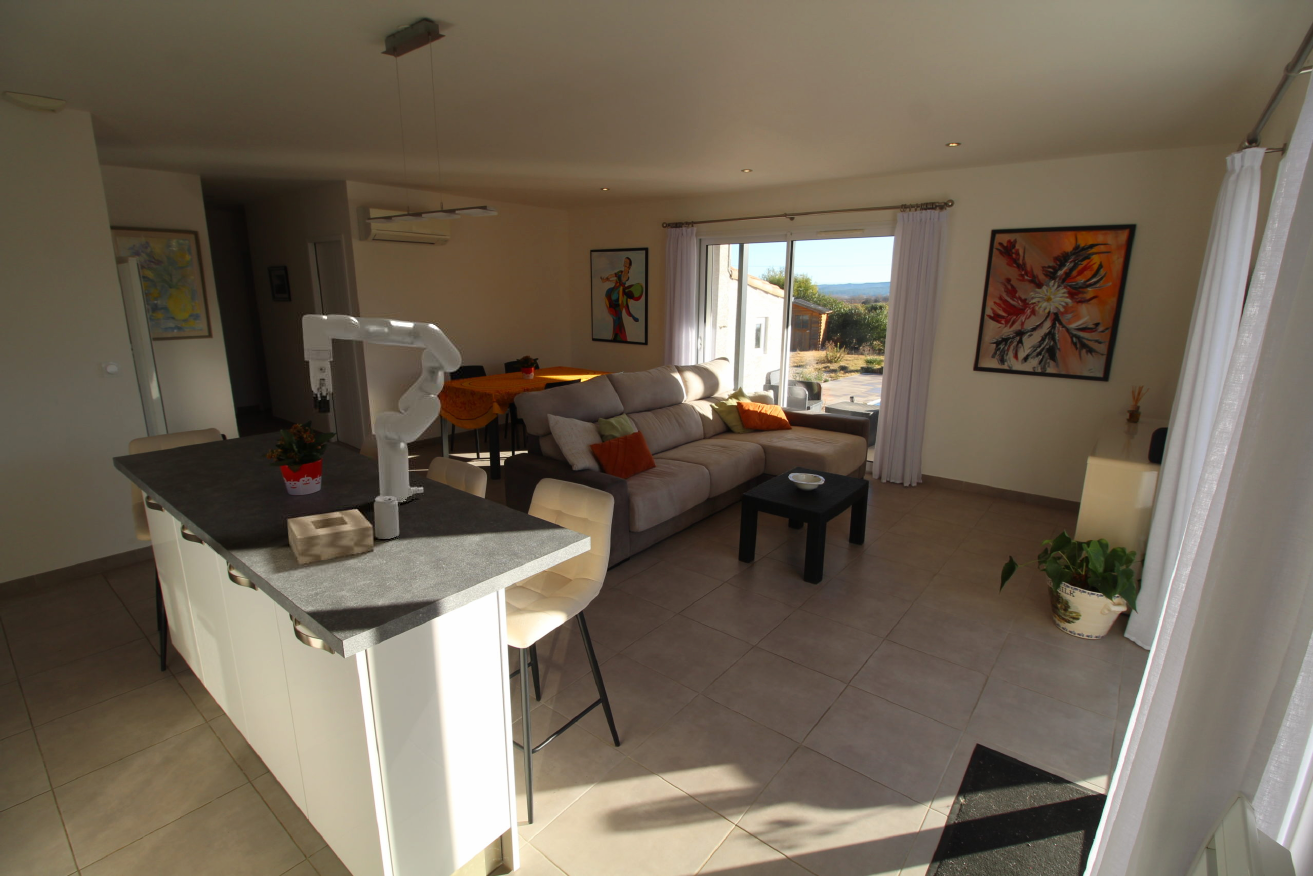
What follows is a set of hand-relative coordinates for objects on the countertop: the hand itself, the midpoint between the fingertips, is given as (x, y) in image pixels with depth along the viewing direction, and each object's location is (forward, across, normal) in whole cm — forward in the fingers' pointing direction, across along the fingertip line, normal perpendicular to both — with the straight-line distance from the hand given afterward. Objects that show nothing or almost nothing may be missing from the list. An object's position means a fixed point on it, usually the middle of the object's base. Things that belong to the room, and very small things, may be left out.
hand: (321, 410), depth 190 cm
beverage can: (+34, -29, -12) cm, 47 cm away
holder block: (+34, -30, +3) cm, 46 cm away
